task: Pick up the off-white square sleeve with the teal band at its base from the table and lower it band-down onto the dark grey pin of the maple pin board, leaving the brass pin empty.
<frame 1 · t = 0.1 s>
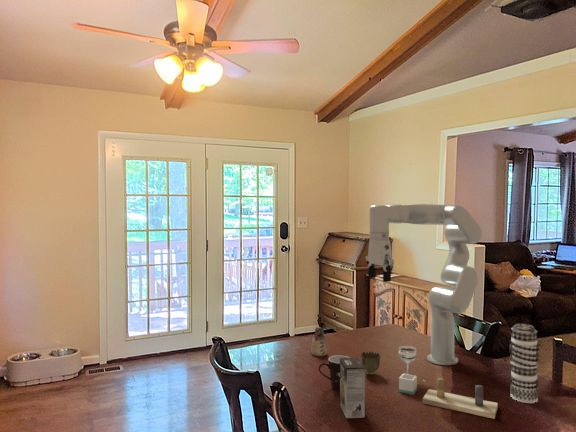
hand: (379, 279, 174), 37 cm above the table, tool pointing down, fingers open, 9 cm apart
coffee box: (352, 412, 142), on the table
coffee mug: (336, 386, 162), on the table
decorative candle: (524, 398, 151), on the table
pin board: (459, 405, 146), on the table
wineglass: (407, 380, 168), on the table
figurine: (319, 353, 198), on the table
sleeve: (408, 390, 158), on the table
cup: (370, 374, 173), on the table
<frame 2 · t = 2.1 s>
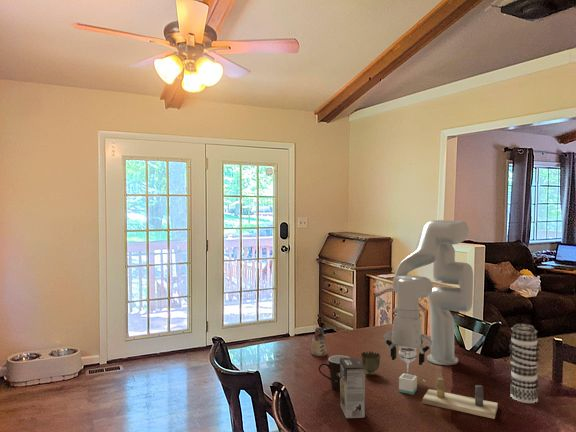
hand: (407, 361, 157), 11 cm above the table, tool pointing down, fingers open, 9 cm apart
nothing on the table moved.
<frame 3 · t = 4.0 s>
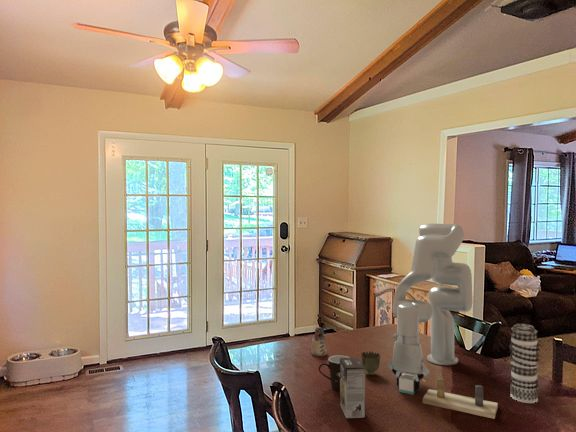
hand: (408, 388, 158), 1 cm above the table, tool pointing down, fingers closed on sleeve, 5 cm apart
sleeve: (408, 390, 158), on the table, touching gripper
everything else where it was.
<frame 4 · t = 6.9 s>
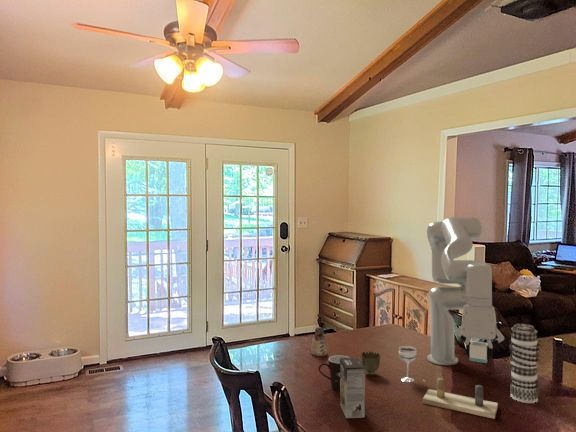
hand: (479, 357, 142), 17 cm above the table, tool pointing down, fingers closed on sleeve, 5 cm apart
sleeve: (479, 359, 142), point 16 cm above the table, touching gripper
everything else where it was.
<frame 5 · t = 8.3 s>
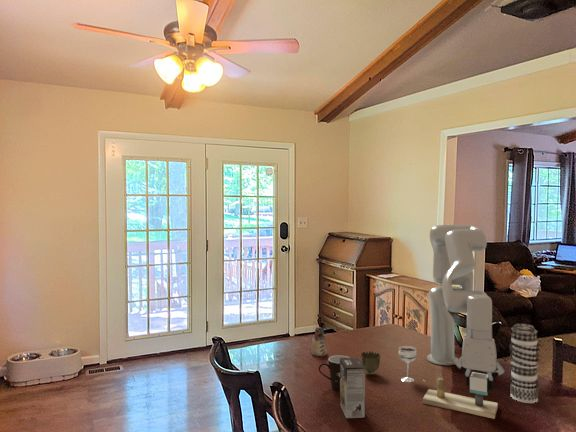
hand: (479, 389, 142), 7 cm above the table, tool pointing down, fingers closed on sleeve, 5 cm apart
sleeve: (479, 391, 142), point 6 cm above the table, touching gripper
everything else where it was.
when the fingers open (4 cm above the table, at t = 9.7 s): sleeve drops 1 cm, resting on pin board.
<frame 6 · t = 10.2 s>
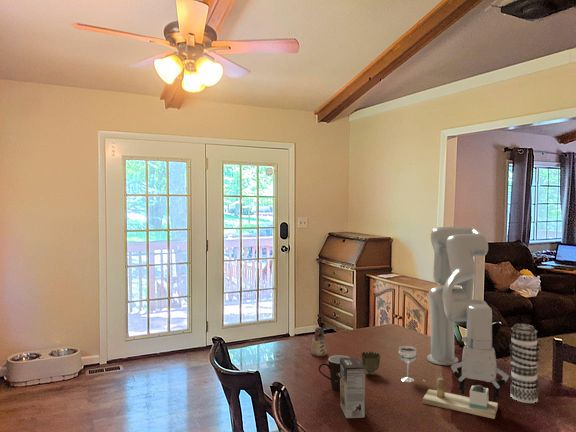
hand: (479, 395, 143), 4 cm above the table, tool pointing down, fingers open, 9 cm apart
sleeve: (479, 404, 143), point 1 cm above the table, touching pin board
everything else where it was.
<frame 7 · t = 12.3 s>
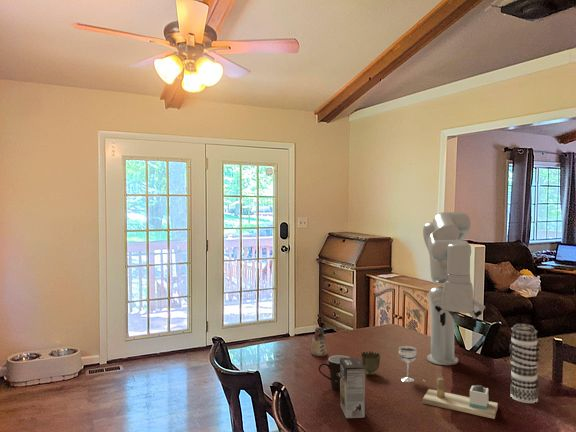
hand: (457, 326, 154), 24 cm above the table, tool pointing down, fingers open, 9 cm apart
nothing on the table moved.
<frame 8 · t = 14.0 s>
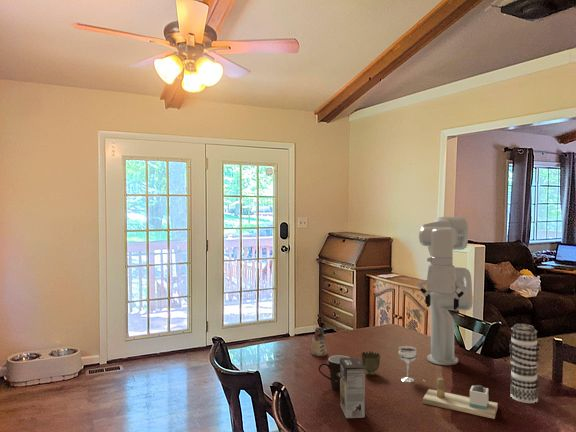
hand: (441, 307, 164), 28 cm above the table, tool pointing down, fingers open, 9 cm apart
nothing on the table moved.
at the end: sleeve 0.1 cm from the target spot on the pin board, point 1.5 cm above the pin board's base; sleeve tilted 0°; the gripper is holding nothing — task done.
